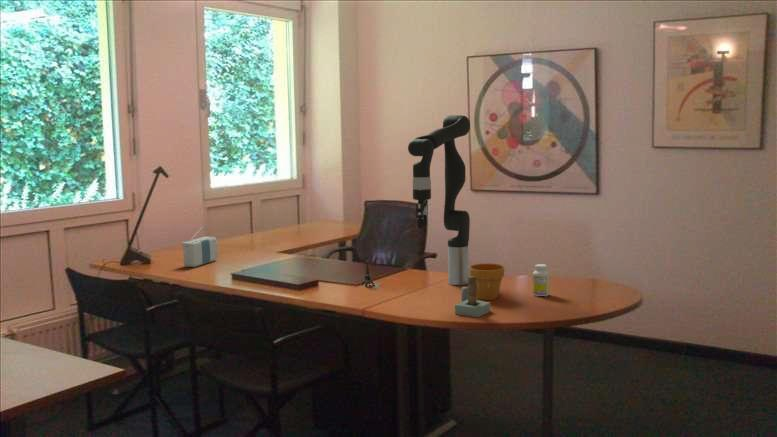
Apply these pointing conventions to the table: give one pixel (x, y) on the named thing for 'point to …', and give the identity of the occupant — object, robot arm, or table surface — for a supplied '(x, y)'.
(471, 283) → the walnut peg
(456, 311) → the hole block
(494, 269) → the flower pot
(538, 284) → the supplement bottle
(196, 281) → the table surface
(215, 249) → the stereo radio cassette player
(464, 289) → the short grey peg
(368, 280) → the eiffel tower figurine
